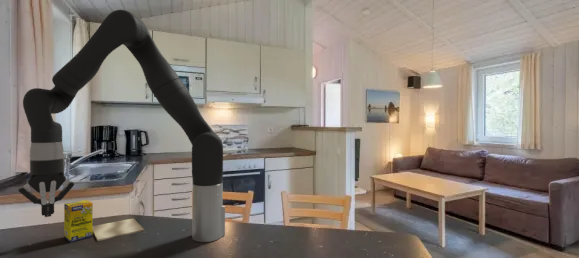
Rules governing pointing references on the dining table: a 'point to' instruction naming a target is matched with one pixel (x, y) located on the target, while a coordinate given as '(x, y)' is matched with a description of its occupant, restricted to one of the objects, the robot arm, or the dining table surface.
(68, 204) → the supplement box
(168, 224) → the dining table surface
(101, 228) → the birch board
